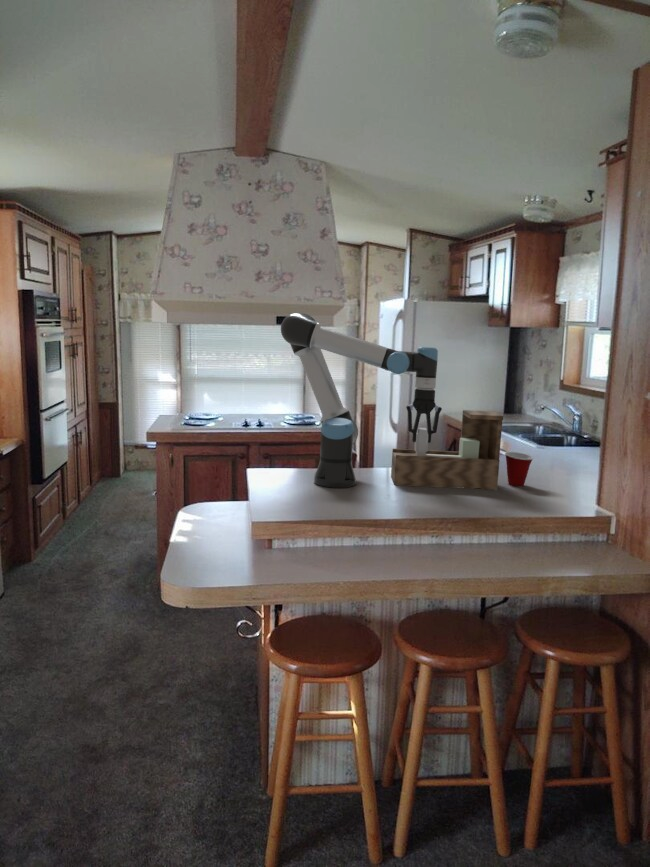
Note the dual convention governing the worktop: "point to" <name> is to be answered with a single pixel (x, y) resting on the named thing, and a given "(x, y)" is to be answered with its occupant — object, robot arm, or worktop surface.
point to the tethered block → (466, 450)
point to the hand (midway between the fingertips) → (420, 450)
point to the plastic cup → (517, 467)
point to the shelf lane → (451, 469)
